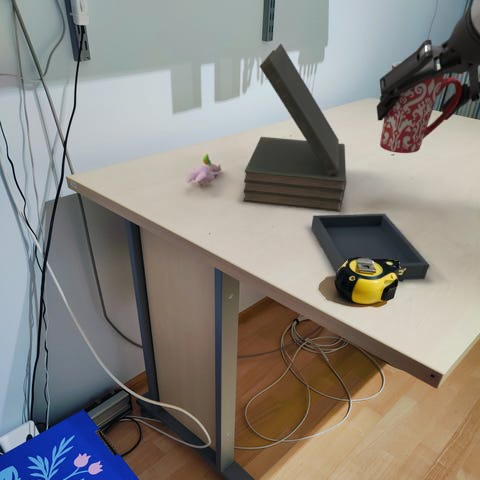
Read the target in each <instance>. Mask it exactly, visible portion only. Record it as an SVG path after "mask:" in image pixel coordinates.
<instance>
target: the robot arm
mask: <svg viewBox="0 0 480 480" xmlns="http://www.w3.org/2000/svg"><path fill="white" fill-rule="evenodd" d="M437 61H439V63H437ZM400 62H401V63H400V64H399V65H397V66H396V67H395V68H394V69H392V68H391V70H389V71H388V72H387V73H386V74H385V75H383V76H382V77H381V78H380V79H379V87H380V88H379V89H380V96H379V102H378V104H377V105H376V114H377V121H379V122H380V121H384V117H385V116H386V115H387V113H388V112H389V111H390V110H391V108H392V107H393V106H394V104H395V103H396V102H397V101H398V99H399V95H400V94H401V93H403V92H405V91H407V90H409V89H411V88H413V87H415V86H417V85H419V84H421V83H423V82H425V81H427V80H428V79H430V78H434V79H437V78H439V77H441V76H442V75H444V74H445V75H449V74H451V75H452V74H457V75H463V74H464V73H468V74H467V75H468V83H462V93H461V97H460V99H459V101H458V103H457V105H456V107H455V108H454V110H453V111H452V112H451V113H450V115H449V116H448V117H447V118H446V119H445V120H444V121H447V120H449V119H450V118H451V117H452V116H453V115H454V114H455V113H456V112H457V111H459V109H460V108H462V107H464V106H465V105H466V104H468V102H470V101H471V102H472V103H473V102H477V101H480V81H479V66H480V0H473V2H472V3H471V5H469V6H468V8H467V9H466V11H465V12H464V13H463V14H462V15H461V17H460V18H459V20H457V22H456V24H455V25H454V27H453V29H452V32H451V35H450V36H449V38H448V39H446V40H445V41H444V42H442V43H441V44H439V45H433V43H432V39H426V40H424V41H422V43H421V45H420V46H419V47H418V48H417V49H416V51H414V52H413V53H412V54H409V56H408V57H406V58H405V59H404V60H402V61H400ZM437 64H440V69H438V70H437ZM445 75H444V76H445ZM454 94H455V92H454V93H453V94H452V95H451V96H450V97H449V98H448V99H446V101H445V102H444V103H443V104H442V105H441V112H442V113H443V112H444V111H445V110H446V109H447V107H448V106H449V105H450V103H451V101H452V99H453V97H454ZM442 113H441V114H442Z"/></svg>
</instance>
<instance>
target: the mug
mask: <svg viewBox="0 0 480 480" xmlns="http://www.w3.org/2000/svg"><path fill="white" fill-rule="evenodd" d="M401 62H402V61H396V62H393V63H391V70H392V69H394V68H395V67H396V66H397V65H399V64H400V63H401ZM438 69H440V63H437V70H438ZM445 75H446V74H444V75H442V76H441V77H439V78H437V79H434V78H430V79H428V80H427V81H425V82H423V83H421V84H419V85H417V86H415V87H413V88H411V89H409V90H407V91H405V92H403V93H401V94H400V95H399V99H398V101H397V102H396V103H395V104H394V106H393V107H392V108H391V110H390V111H389V112H388V113H387V115H386V116H385V117H384V118H383V123H382V129H381V130H382V131H381V133H380V134H381V135H380V141H379V146H380V148H382V149H383V150H385V151H388V152H391V153H398V154H413V153H416V152H419V151H420V149H421V146H422V143H423V140H424V139H426V137H427V136H428V135H430V134H431V133H432V132H434V131H435V129H437V128H438V127H439V126H440V125H441V124H442V123H443V122H444V121H446V120H445V119H446V118H447V117H448V116H449V115H450V113H451V112H452V111H453V110H454V108H455V107H456V105H457V103H458V101H459V99H460V97H461V93H462V85H463V83H462V82H461V80H460V79H458V78H456V77H451V76H450V77H446V78H445ZM450 84H451V85H452V84H453V85H454V93H455V94H454V93H453V94H454V97H453V99H452V101H451V103H450V105H449V106H448V107H447V109H446V110H445V111H444V112H443V113H441V114H440V115H439V116H438V117H437V118H436V119H435V120H434V121H433V122H431V123H430V124H429V122H430V119H431V116H432V113H433V110H434V107H435V105H436V101H437V99H438V96H439V95H440V94H441V93H442V92H443V90H444V89H445V88H446V87H447V86H448V85H450Z"/></svg>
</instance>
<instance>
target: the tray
mask: <svg viewBox="0 0 480 480" xmlns="http://www.w3.org/2000/svg"><path fill="white" fill-rule="evenodd" d="M310 229H311V231H312V233H313V234H314V237H315V238H316V241H317V242H318V244H319V245H320V247H321V249H322V251H323V253H324V255H325V257H326V259H327V260H328V262H329V264H330V266H331V268H332V269H333V271H334V273H335V275H336V276H337V271H338V269H339V268H340V267H341V266H342V265H343V264H344V263H345V262H346V261H347V259H349V258H353V257H362V258H369V259H389V260H397V261H399V262H400V264H399V265H400V267H401V268H406V270H405V274H404V275H400V276H399V277H398V280H397V281H412V280H414V281H415V280H425V279H426V276H427V273H428V271H429V268H430V266H431V265H430V264H429V262H428V261H427V260H426V259H425V258H424V256H423V255H422V254H421V253H420V252H419V250H417V248H416V247H415V246H414V245H413V244H412V243H411V242H410V241H409V240H408V238H407V237H406V236H405V234H403V233H402V231H401V230H400V229H399V227H397V226H396V224H395V223H394V222H393V221H392V220H391V219H390V217H388V215H386V213H360V214H359V213H356V214H355V213H354V214H327V215H326V214H322V215H321V214H320V215H319V214H318V215H315V214H314V215H312V221H311V227H310Z"/></svg>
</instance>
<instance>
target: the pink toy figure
mask: <svg viewBox="0 0 480 480" xmlns="http://www.w3.org/2000/svg"><path fill="white" fill-rule="evenodd" d="M202 162H203V164H204V165H200V166H196V167H195V168H194V169H193V171H190V172H188V173H187V174H186V175H185V179H186V183H187V184H189V183H191V182H192V181H194V182H193V183H194V185H196V184H200V185H202V186H203V185H207V184H209V183H211V182H213V181H214V180H215V177H217V176H218V175H222V174H223V172H222V168H221V167H222V166H221V165H220V164H218V165H217V164H215V163H212V162H211V160H210V157H209V154H208V153H207V154H205V155H204V156H203V159H202Z"/></svg>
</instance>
